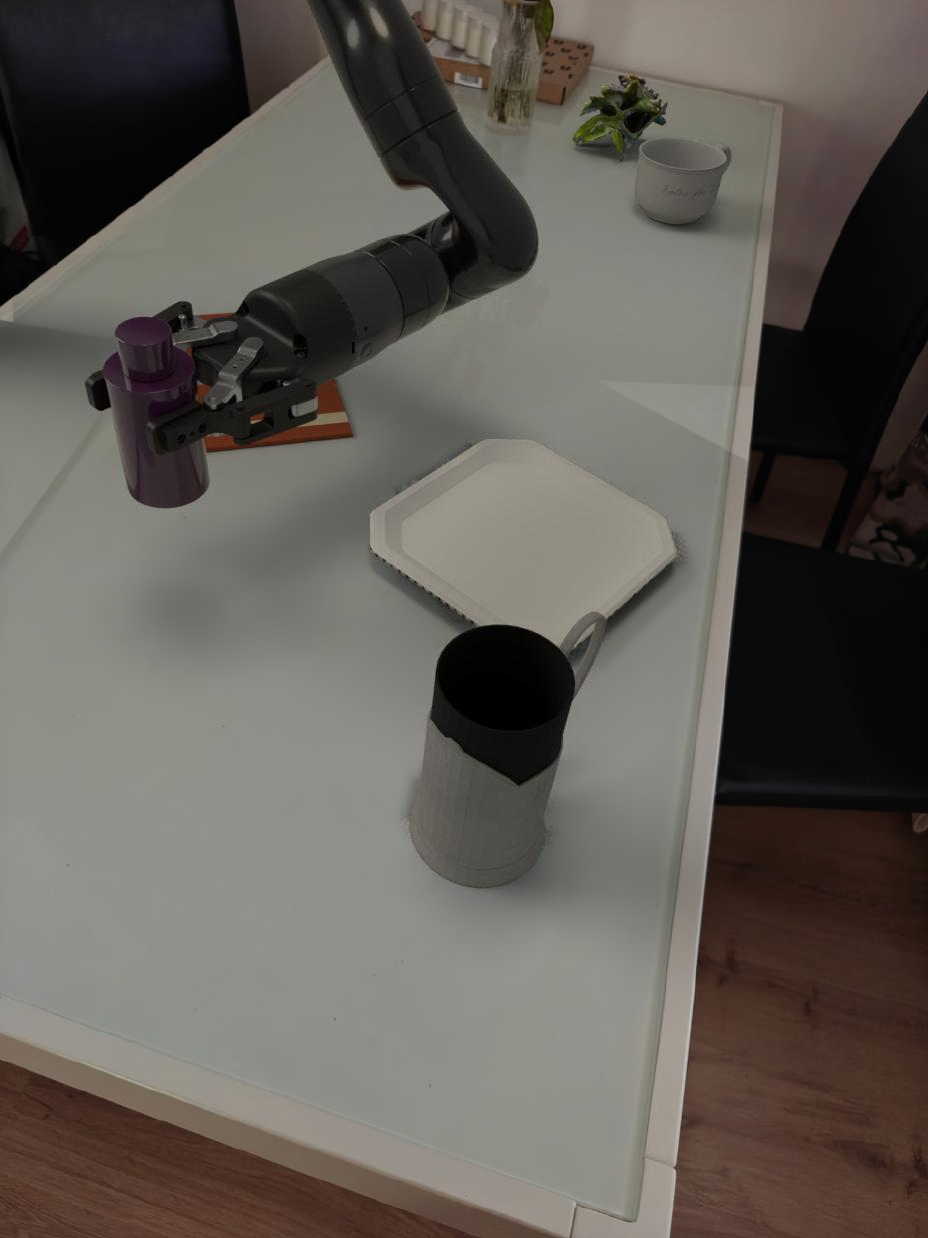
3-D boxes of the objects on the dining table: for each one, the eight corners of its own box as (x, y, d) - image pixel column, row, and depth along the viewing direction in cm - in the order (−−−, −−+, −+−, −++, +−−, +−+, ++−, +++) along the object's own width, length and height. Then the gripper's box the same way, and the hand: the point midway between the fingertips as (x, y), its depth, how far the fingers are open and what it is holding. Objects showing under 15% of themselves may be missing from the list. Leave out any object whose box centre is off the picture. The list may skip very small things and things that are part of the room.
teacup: (655, 237, 123) (670, 172, 117) (611, 199, 129) (624, 135, 123) (746, 225, 127) (765, 162, 121) (700, 188, 134) (716, 127, 128)
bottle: (114, 500, 65) (79, 347, 57) (145, 451, 69) (116, 300, 60) (193, 515, 65) (170, 362, 56) (221, 464, 68) (203, 314, 60)
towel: (171, 320, 100) (170, 316, 100) (308, 310, 104) (308, 306, 104) (195, 453, 87) (194, 449, 86) (352, 436, 90) (352, 432, 90)
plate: (342, 547, 80) (342, 527, 78) (503, 442, 91) (506, 422, 90) (542, 689, 72) (547, 669, 70) (692, 553, 83) (699, 534, 82)
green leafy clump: (612, 177, 147) (670, 106, 142) (627, 195, 138) (690, 121, 133) (556, 125, 142) (615, 50, 137) (568, 140, 133) (631, 61, 128)
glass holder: (381, 825, 63) (389, 674, 52) (522, 702, 71) (554, 548, 60) (484, 915, 59) (516, 773, 49) (621, 775, 67) (675, 626, 56)
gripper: (252, 232, 70) (37, 315, 61) (399, 315, 64) (187, 420, 55) (259, 327, 75) (63, 416, 66) (395, 411, 70) (202, 522, 60)
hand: (121, 417), depth 61 cm, fingers closed on bottle, 5 cm apart
